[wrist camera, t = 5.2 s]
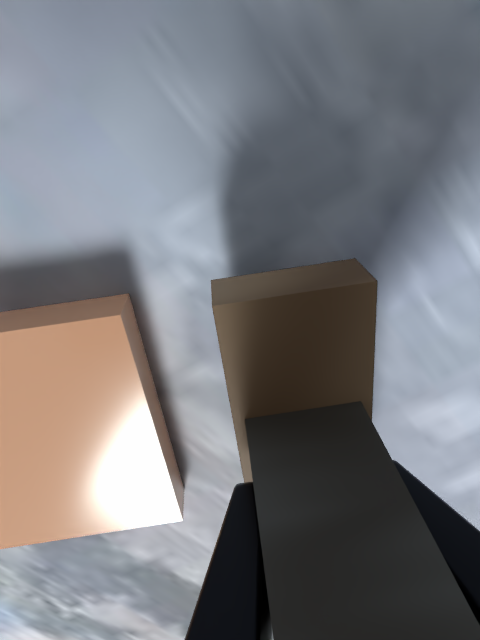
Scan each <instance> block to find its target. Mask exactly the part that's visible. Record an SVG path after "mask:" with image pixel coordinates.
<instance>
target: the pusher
mask: <svg viewBox="0 0 480 640" xmlns="http://www.w3.org/2000/svg"><path fill="white" fill-rule="evenodd" d="M211 292H212V308H213V314H214V319H215V325H216V330H217V336H218V341H219V347H220V352H221V358H222V363H223V368H224V374H225V379H226V385H227V390H228V396H229V401H230V407H231V412H232V418H233V423H234V429H235V434H236V440H237V445H238V451H239V456H240V462H241V467H242V472H243V478H244V483H245V482H253V486H254V494H255V501H256V509H257V517H258V524H259V532H260V540H261V547H262V555H263V563H264V570H265V578H266V586H267V593H268V601H269V609H270V616H271V624H272V632H273V639H274V640H480V625H479V623H478V622H477V620H476V618H475V616H474V614H473V612H472V610H471V608H470V606H469V605H468V603H467V601H466V599H465V597H464V595H463V593H462V591H461V589H460V587H459V586H458V584H457V582H456V580H455V578H454V576H453V574H452V572H451V570H450V569H449V567H448V565H447V563H446V561H445V559H444V557H443V555H442V553H441V552H440V550H439V548H438V546H437V544H436V542H435V540H434V538H433V536H432V534H431V533H430V531H429V529H428V527H427V525H426V523H425V521H424V519H423V517H422V516H421V514H420V512H419V510H418V508H417V506H416V504H415V502H414V500H413V499H412V497H411V495H410V493H409V491H408V489H407V487H406V485H405V483H404V481H403V480H402V478H401V476H400V474H399V472H398V470H397V468H396V466H395V464H394V463H393V461H392V459H391V457H390V455H389V453H388V451H387V449H386V447H385V446H384V444H383V442H382V440H381V438H380V436H379V434H378V432H377V430H376V428H375V427H374V425H373V423H372V401H373V377H374V352H375V328H376V303H377V280H376V279H375V278H374V277H373V276H372V275H371V274H370V273H369V272H368V271H367V270H366V269H365V268H364V267H363V266H362V265H361V264H360V263H359V262H358V261H357V260H356V259H355V258H354V259H347V260H341V261H334V262H327V263H321V264H314V265H308V266H301V267H294V268H288V269H281V270H275V271H268V272H261V273H255V274H248V275H241V276H235V277H228V278H222V279H215V280H211Z"/></svg>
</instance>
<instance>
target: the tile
mask: <svg viewBox="0 0 480 640" xmlns="http://www.w3.org/2000/svg"><path fill="white" fill-rule="evenodd" d="M183 506H184V487H183V483H182V480H181V476H180V473H179V469H178V466H177V462H176V458H175V455H174V451H173V448H172V444H171V441H170V437H169V434H168V430H167V427H166V423H165V420H164V416H163V413H162V409H161V406H160V402H159V399H158V395H157V391H156V388H155V384H154V381H153V377H152V374H151V370H150V367H149V363H148V360H147V356H146V353H145V349H144V346H143V342H142V339H141V335H140V332H139V328H138V324H137V321H136V317H135V314H134V310H133V307H132V303H131V300H130V296H129V293H128V294H121V295H114V296H108V297H101V298H94V299H87V300H80V301H73V302H66V303H59V304H52V305H45V306H39V307H32V308H25V309H18V310H11V311H4V312H0V549H4V548H10V547H17V546H23V545H30V544H36V543H43V542H49V541H56V540H62V539H69V538H75V537H82V536H88V535H95V534H101V533H108V532H114V531H121V530H127V529H134V528H140V527H147V526H153V525H159V524H166V523H172V522H179V521H183Z"/></svg>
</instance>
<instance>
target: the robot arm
mask: <svg viewBox="0 0 480 640" xmlns="http://www.w3.org/2000/svg"><path fill="white" fill-rule="evenodd" d="M392 461H393V463H394V464H395V466H396V468H397V470H398V472H399V474H400V476H401V478H402V480H403V481H404V483H405V485H406V487H407V489H408V491H409V493H410V495H411V497H412V499H413V500H414V502H415V504H416V506H417V508H418V510H419V512H420V514H421V516H422V517H423V519H424V521H425V523H426V525H427V527H428V529H429V531H430V533H431V534H432V536H433V538H434V540H435V542H436V544H437V546H438V548H439V550H440V552H441V553H442V555H443V557H444V559H445V561H446V563H447V565H448V567H449V569H450V570H451V572H452V574H453V576H454V578H455V580H456V582H457V584H458V586H459V587H460V589H461V591H462V593H463V595H464V597H465V599H466V601H467V603H468V605H469V606H470V608H471V610H472V612H473V614H474V616H475V618H476V620H477V622H478V623H479V625H480V531H479V530H478V529H476V528H475V527H474V526H473V525H472V524H471V523H469V522H468V521H467V520H466V519H465V518H463V517H462V516H461V515H460V514H459V513H457V512H456V511H455V510H454V509H453V508H451V507H450V506H449V505H448V504H447V503H446V502H444V501H443V500H442V499H441V498H440V497H438V496H437V495H436V494H435V493H434V492H432V491H431V490H430V489H429V488H428V487H427V486H425V485H424V484H423V483H422V482H421V481H419V480H418V479H417V478H416V477H415V476H413V475H412V474H411V473H410V472H409V471H408V470H406V469H405V468H404V467H403V466H402V465H400V464H399V463H398V462H397V461H394V460H392ZM185 640H274V639H273V632H272V624H271V616H270V609H269V601H268V593H267V586H266V578H265V570H264V563H263V555H262V547H261V540H260V532H259V524H258V517H257V509H256V501H255V494H254V486H253V482H245V483H239V484H237V485H236V486H235V488H234V490H233V493H232V496H231V500H230V503H229V506H228V509H227V512H226V515H225V518H224V521H223V524H222V527H221V530H220V533H219V536H218V539H217V542H216V545H215V549H214V552H213V555H212V558H211V561H210V564H209V567H208V570H207V573H206V576H205V579H204V582H203V585H202V588H201V591H200V594H199V598H198V601H197V604H196V607H195V610H194V613H193V616H192V619H191V622H190V625H189V628H188V631H187V634H186V637H185Z"/></svg>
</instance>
